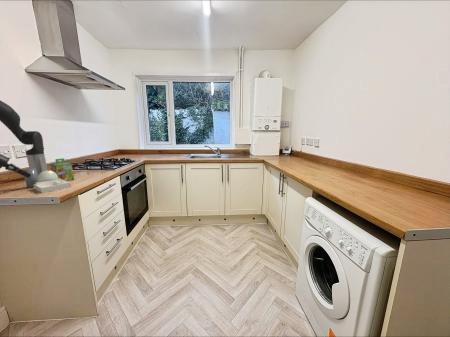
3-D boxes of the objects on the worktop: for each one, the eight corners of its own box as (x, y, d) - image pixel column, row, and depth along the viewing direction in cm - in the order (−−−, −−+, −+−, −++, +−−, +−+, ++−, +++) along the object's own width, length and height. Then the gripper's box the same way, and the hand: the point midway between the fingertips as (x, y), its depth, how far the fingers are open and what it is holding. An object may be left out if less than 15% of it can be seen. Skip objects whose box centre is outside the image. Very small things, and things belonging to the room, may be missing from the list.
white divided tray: (34, 189, 112) (30, 172, 110) (62, 183, 123) (59, 168, 121) (42, 193, 104) (38, 175, 102) (71, 187, 115) (68, 170, 113)
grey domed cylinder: (26, 187, 116) (21, 169, 114) (38, 185, 120) (34, 167, 118) (28, 188, 113) (24, 170, 111) (40, 186, 117) (36, 168, 115)
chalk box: (58, 182, 125) (53, 160, 122) (53, 181, 130) (48, 159, 127) (75, 179, 133) (71, 158, 130) (69, 178, 138) (66, 157, 135)
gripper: (1, 154, 100) (36, 171, 112) (-3, 152, 108) (29, 169, 120) (-12, 165, 97) (25, 182, 109) (-16, 163, 105) (19, 179, 117)
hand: (27, 175), depth 114 cm, fingers open, 8 cm apart
